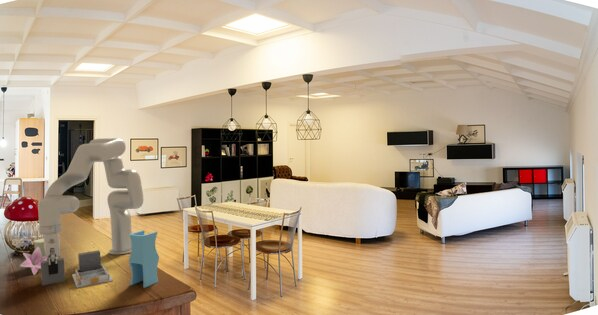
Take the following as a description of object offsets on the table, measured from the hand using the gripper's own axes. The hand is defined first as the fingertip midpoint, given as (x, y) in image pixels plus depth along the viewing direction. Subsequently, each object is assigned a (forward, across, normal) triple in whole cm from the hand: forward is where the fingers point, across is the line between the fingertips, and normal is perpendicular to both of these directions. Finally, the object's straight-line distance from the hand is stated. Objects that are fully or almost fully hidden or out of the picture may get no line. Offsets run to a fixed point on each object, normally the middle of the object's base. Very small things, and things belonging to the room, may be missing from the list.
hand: (52, 270), depth 166 cm
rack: (+5, -5, -14) cm, 15 cm away
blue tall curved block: (+5, -25, -30) cm, 39 cm away
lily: (+5, +21, +6) cm, 22 cm away
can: (+5, +31, +1) cm, 31 cm away
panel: (+5, 0, 0) cm, 5 cm away
